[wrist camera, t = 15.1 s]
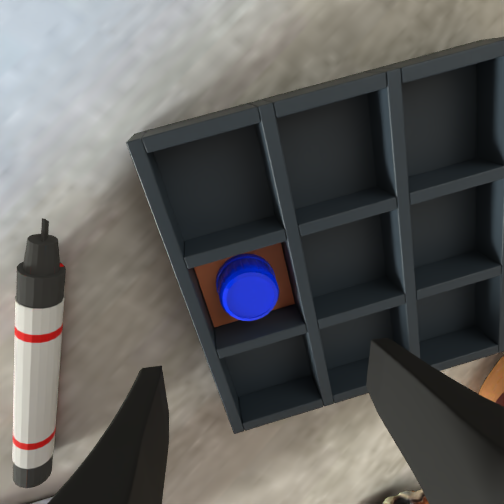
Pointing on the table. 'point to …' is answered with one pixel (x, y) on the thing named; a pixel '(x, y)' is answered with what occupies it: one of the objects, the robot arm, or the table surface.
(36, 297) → the marker
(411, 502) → the brown lumpy food piece
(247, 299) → the bottle cap
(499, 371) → the donut
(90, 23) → the table surface
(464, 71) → the grid
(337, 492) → the table surface
